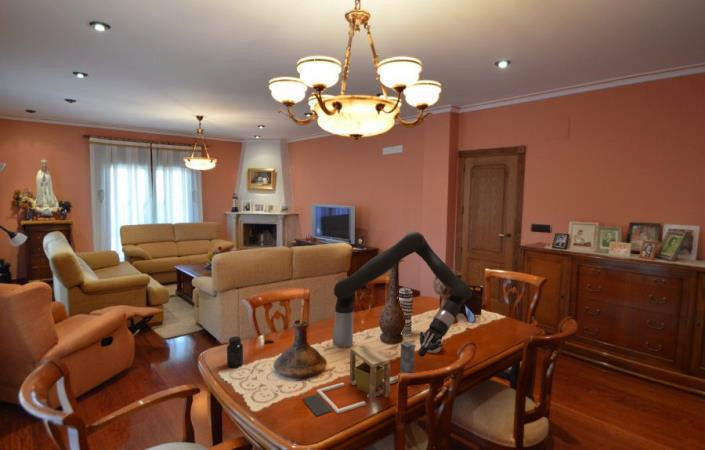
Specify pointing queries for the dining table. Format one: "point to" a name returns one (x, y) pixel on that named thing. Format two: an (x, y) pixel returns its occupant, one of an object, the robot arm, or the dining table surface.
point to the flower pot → (367, 376)
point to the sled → (401, 364)
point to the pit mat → (316, 405)
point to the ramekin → (433, 350)
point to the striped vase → (406, 308)
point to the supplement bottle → (235, 352)
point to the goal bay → (320, 392)
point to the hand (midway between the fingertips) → (420, 355)
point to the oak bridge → (371, 367)
